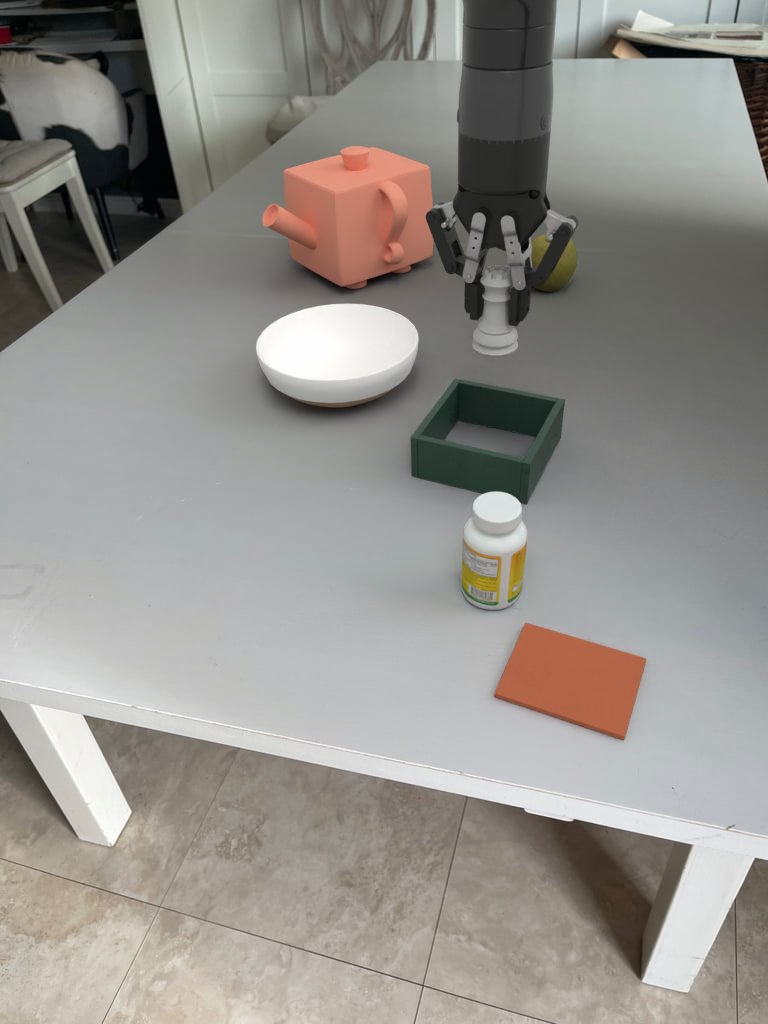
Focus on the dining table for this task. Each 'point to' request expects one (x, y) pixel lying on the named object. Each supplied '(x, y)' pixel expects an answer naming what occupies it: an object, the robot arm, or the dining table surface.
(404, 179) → the teapot
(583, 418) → the dining table surface
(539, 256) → the apple
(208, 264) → the dining table surface
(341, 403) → the bowl
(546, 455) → the holder
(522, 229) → the robot arm
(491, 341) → the rook chess piece
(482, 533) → the supplement bottle
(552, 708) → the mat
